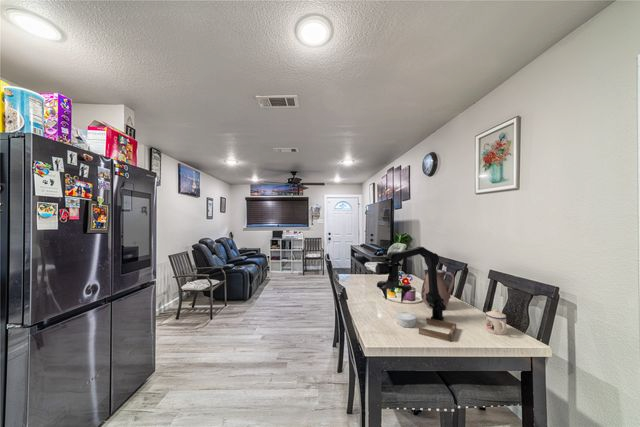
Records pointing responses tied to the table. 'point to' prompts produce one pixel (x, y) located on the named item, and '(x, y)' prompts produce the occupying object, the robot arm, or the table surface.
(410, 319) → the ramekin
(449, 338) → the walnut dock
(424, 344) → the table surface
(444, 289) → the ceramic pitcher
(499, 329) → the teacup with lid
